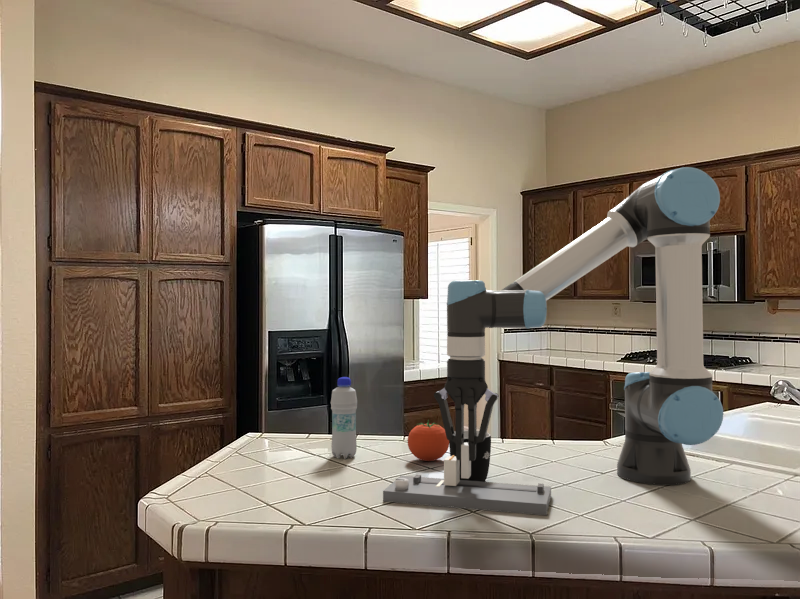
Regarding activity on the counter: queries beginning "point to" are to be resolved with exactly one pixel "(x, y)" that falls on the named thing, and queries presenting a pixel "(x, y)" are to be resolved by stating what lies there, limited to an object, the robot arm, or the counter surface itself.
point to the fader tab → (451, 471)
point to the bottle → (344, 419)
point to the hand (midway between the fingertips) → (466, 476)
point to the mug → (482, 458)
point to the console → (470, 495)
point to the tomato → (428, 441)
